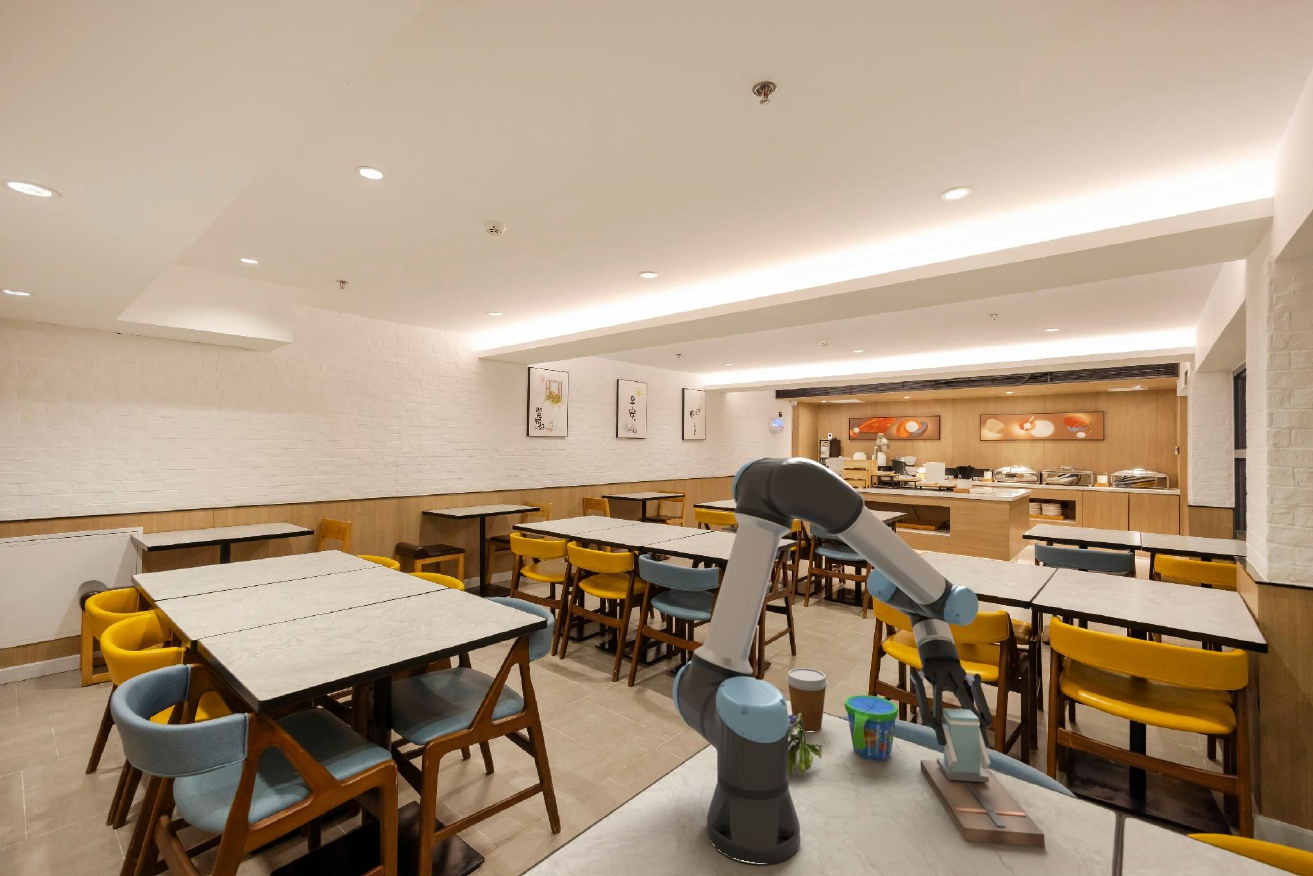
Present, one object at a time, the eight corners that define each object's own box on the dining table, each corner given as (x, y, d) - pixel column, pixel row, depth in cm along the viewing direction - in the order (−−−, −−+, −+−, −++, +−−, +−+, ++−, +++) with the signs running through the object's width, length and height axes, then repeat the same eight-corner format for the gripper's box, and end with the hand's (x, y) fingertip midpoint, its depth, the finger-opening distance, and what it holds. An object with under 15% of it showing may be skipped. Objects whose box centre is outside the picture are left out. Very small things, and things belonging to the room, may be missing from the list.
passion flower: (774, 785, 119) (761, 723, 126) (826, 778, 118) (811, 715, 125) (772, 778, 110) (759, 711, 117) (829, 769, 109) (812, 702, 116)
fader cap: (948, 779, 106) (946, 718, 107) (937, 763, 112) (935, 705, 113) (988, 782, 105) (986, 721, 106) (975, 765, 111) (973, 707, 112)
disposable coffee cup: (830, 737, 128) (829, 683, 129) (787, 733, 130) (786, 679, 131) (826, 719, 138) (825, 668, 138) (786, 716, 140) (785, 666, 140)
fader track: (964, 840, 93) (964, 826, 93) (920, 770, 114) (920, 758, 115) (1044, 847, 91) (1044, 832, 91) (984, 774, 113) (984, 763, 113)
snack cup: (865, 733, 131) (864, 687, 131) (911, 749, 123) (910, 700, 124) (830, 756, 120) (829, 707, 120) (879, 776, 112) (878, 723, 113)
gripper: (976, 657, 124) (1015, 775, 107) (888, 653, 126) (913, 768, 109) (986, 639, 119) (1029, 760, 102) (895, 635, 121) (922, 753, 104)
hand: (969, 764), depth 105 cm, fingers closed on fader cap, 5 cm apart
